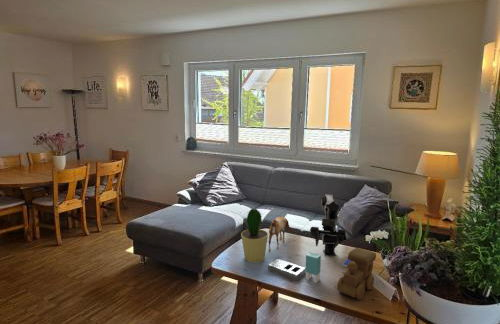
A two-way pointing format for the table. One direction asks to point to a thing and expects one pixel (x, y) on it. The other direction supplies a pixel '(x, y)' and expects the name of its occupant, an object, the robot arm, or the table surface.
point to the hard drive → (346, 263)
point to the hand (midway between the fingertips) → (325, 246)
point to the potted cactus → (254, 238)
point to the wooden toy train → (357, 273)
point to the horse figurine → (278, 229)
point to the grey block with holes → (287, 269)
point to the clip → (313, 266)
